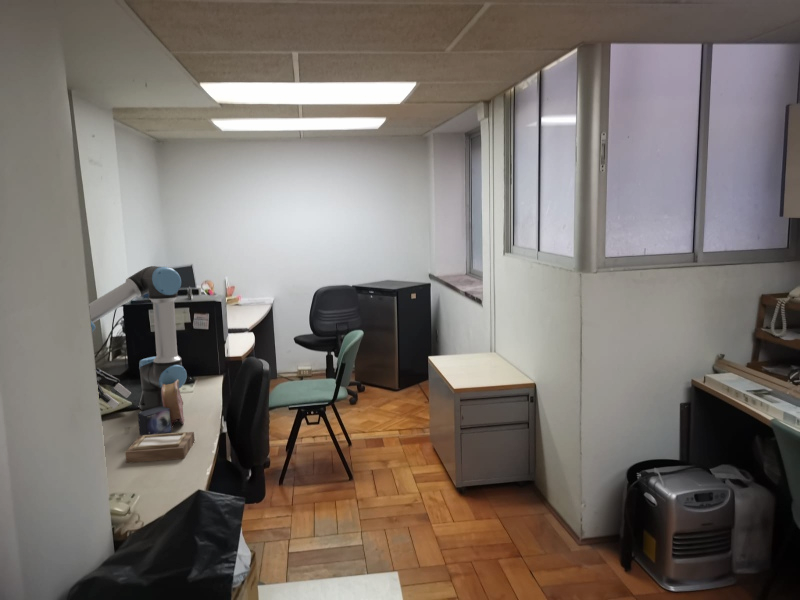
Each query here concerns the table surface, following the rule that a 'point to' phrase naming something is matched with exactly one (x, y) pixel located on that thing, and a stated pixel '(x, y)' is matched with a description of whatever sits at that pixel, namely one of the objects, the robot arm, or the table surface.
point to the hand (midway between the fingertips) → (123, 400)
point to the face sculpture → (173, 401)
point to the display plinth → (160, 447)
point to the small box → (154, 421)
